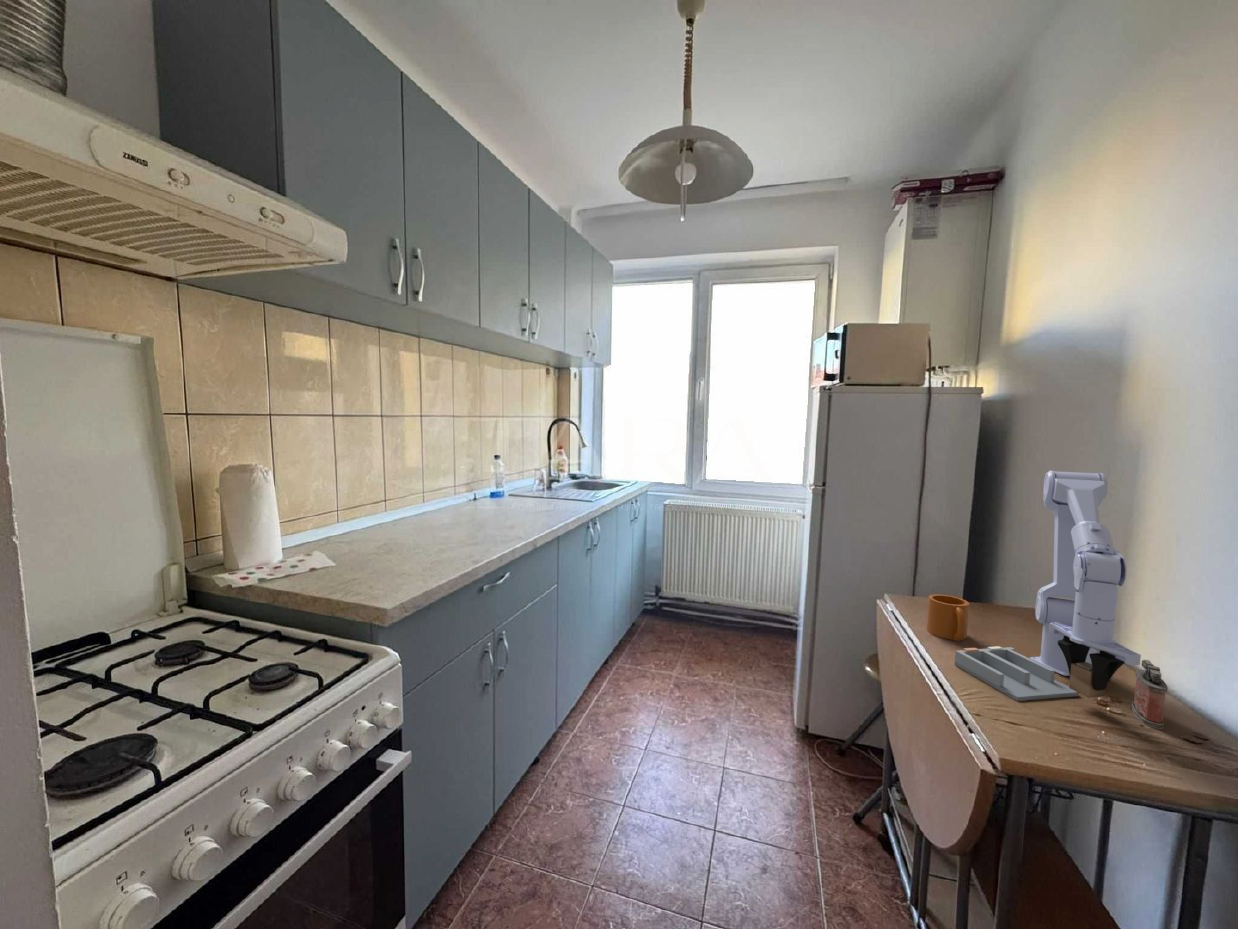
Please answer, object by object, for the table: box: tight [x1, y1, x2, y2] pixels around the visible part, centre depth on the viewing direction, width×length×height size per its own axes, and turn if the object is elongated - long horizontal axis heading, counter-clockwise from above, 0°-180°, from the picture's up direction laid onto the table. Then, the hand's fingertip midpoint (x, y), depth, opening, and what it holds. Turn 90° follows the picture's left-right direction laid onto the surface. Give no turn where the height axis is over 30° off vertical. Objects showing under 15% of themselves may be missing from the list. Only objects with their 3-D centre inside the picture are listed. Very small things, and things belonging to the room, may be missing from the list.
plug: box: [1068, 662, 1106, 699], centre depth 96 cm, size 4×4×5 cm
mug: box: [926, 594, 970, 642], centre depth 129 cm, size 9×12×9 cm
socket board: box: [954, 645, 1080, 702], centre depth 107 cm, size 14×15×4 cm
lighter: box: [1131, 659, 1168, 730], centre depth 93 cm, size 8×3×10 cm, turn 148°
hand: (1087, 683), depth 97 cm, fingers closed on plug, 3 cm apart
